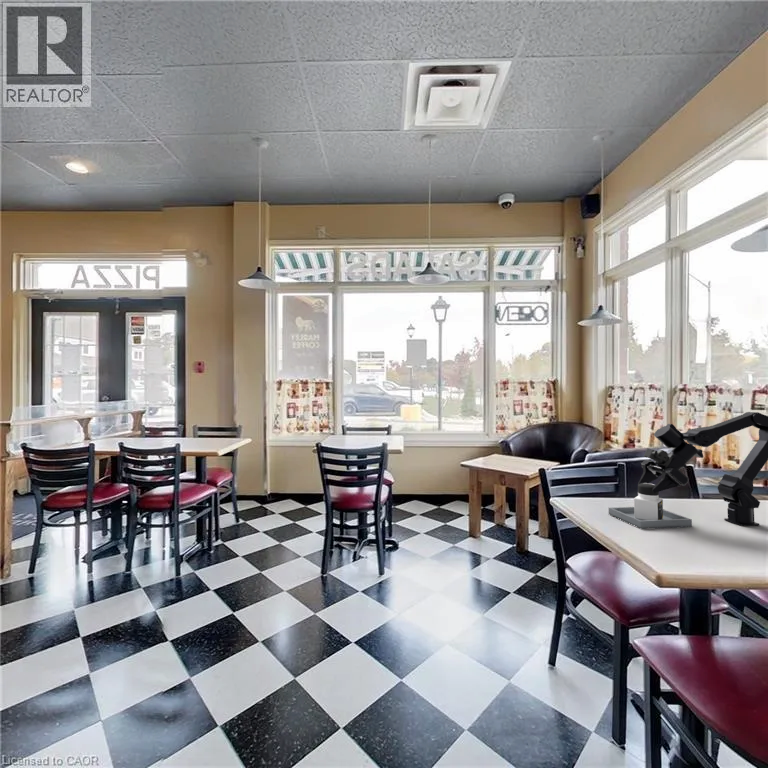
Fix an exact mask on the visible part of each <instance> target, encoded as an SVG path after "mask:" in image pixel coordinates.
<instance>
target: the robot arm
mask: <svg viewBox="0 0 768 768" xmlns="http://www.w3.org/2000/svg"><path fill="white" fill-rule="evenodd" d="M750 427H753V428H756V429H758V440H757V441H756V443H755V444H754V446H753V447H752V448H751V450H750V451H749V452H748V455H747V456H746V457H745V459H743V461H742V463H741V464H740V466H739V467H738V469H736V472H734V473H733V474H728V473H725V474H723V476H722V477H721V479H720V481H718V482H717V484H718V486H717V491H718V493H719V495H720V496H722V500H723V502H727V518H725V517H724V521H726V522H730V523H732V524H736V525H738V524H739V526H741V525H743V527H744V525H751V526H760V523H759V522H756V521H755V509H759V507H760V505H761V501H760V500H758V499H757V498H756V496H754V495H752V494H753V491H754V480H755V479H756V478H757V476H758V474H759V473H760V472H761V471H762V469H763V468H764V466H765V465H766V463H767V462H768V415H765V414H763V413H760V412H758V411H757V412H756V411H747V412H744V413H743V414H741V415H740V414H739V415H737V416H734V417H732V418H730V419H726V420H724V421H721V422H719V423H716V424H713V425H710V426H701V427H695V428H691V429H690V428H689V430H687V431H686V432H681V431H680V430H679V429H677V427H676V426H675V425H674V424H673V423H667V425H664V426H662V427H660V428H658V429H656V431H655V432H654V435H653V436H654V437H655V438H656V439H657V440H658V441H659V442H661V443H662V445H664V447H666V448H668V449H671V448H672V450H671V451H670V452H667V451H666V450H663V449H659V450H655V449H652V448H646V450H645V452H644V454H643V457H644V458H647V459H644V460H643V461H642V462H641V463H640V464H641V468H642V470H643V472H642V474H641V476H640V479H639V481H638V482H637V485H638V484H641V483H649V484H650V483H651V482H653V481H655V480H658V479H660V480H659V481H658V482H657V483H655V484H654V485H655V487H654V488H653V489H652V491H653V492H654V493H656V492H662V491H666V490H669V489H673V488H677V487H681V486H683V487H685V486H686V485H687V484H688V483H689V477H688V476H686V474H685V473H684V472H682V471H681V469H687V467H688V465H687V464H688V462H690V461H691V460H692V459H693V458H694V457H696V458H700V459H703V458H704V453H703V449H699V448H697V447H702V448H708V447H710V446H712V445H714V444H716V443H717V442H719V440H721V438H723V437H726V436H728V435H732V434H734V433H736V432H740V431H741V430H744V429H748V428H750ZM659 477H661V478H659Z"/></svg>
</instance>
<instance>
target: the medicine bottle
mask: <svg viewBox="0 0 768 768" xmlns="http://www.w3.org/2000/svg"><path fill="white" fill-rule="evenodd" d="M655 485H656V484H653V483H650V482H649V483H641V484H638V483H637V496H635V497H634V498H633V507H634V518H636V519H641V520H662V519H663V509H664V502H663V501H664V499H663V497H659V495H660V493H659V492H660V491H659V492H656V493H654V492H653V491H652V489H653V488H654V487H655Z"/></svg>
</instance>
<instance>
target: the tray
mask: <svg viewBox="0 0 768 768" xmlns="http://www.w3.org/2000/svg"><path fill="white" fill-rule="evenodd" d="M609 514H610V516H611V515H612V517H613V516H614V517H613V518H615V517H617V518H616V519H618V518H619V519H618V520H620V519H621V521H622V520H623V521H622V522H624V521H626V522H628V523H627V524H629V523H630V524H629V525H631V524H632V525H631V526H633V525H635V526H637V527H639V528H638V529H640V528H655V529H674V528H675V529H677V527H680V528H692V527H693V522H692V521H693V520H692V519H691V518H688V517H686V516H683V515H681V514H678V513H675V512H672V511H669V510H666V509H664V508H663V519H662V520H641V519H636V518H634V506H619V507H608V515H609ZM626 522H625V523H626ZM635 526H634V527H635ZM637 527H636V528H637Z"/></svg>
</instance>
